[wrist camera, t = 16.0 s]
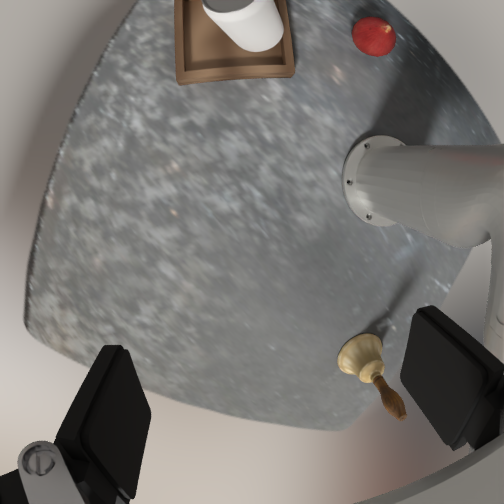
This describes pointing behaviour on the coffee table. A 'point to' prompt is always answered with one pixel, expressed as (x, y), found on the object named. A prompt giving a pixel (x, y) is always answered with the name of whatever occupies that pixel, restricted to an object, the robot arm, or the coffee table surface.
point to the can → (247, 22)
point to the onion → (374, 36)
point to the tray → (224, 49)
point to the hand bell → (370, 369)
